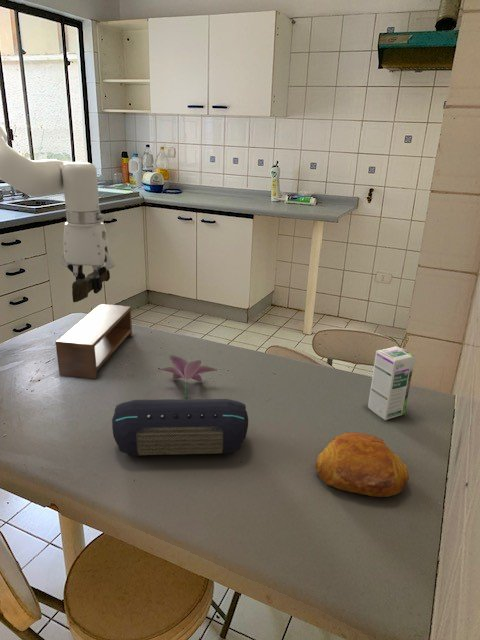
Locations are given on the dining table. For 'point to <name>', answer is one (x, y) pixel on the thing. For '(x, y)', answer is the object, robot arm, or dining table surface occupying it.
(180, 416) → the portable speaker
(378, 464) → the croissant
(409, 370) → the syrup box
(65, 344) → the shelf stand
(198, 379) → the lily
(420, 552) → the dining table surface
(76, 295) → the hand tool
